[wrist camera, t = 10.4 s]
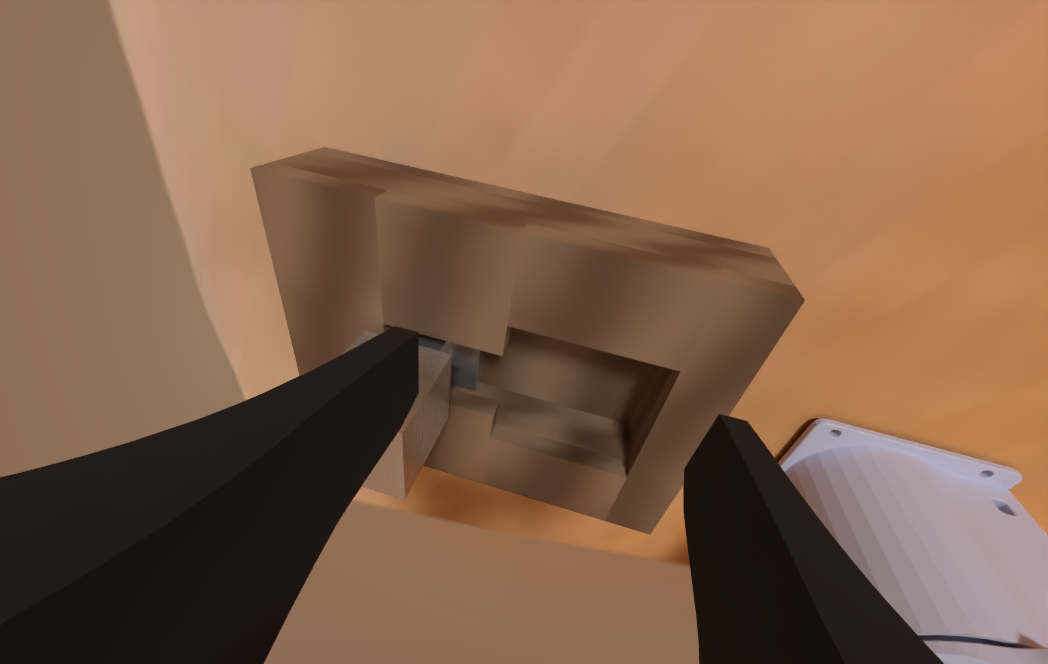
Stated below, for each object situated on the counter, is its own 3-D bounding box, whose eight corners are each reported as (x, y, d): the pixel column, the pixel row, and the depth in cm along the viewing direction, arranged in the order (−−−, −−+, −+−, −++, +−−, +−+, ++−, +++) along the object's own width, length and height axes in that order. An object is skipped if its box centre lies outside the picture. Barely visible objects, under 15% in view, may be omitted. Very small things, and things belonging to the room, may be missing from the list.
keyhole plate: (769, 248, 17) (804, 300, 13) (648, 467, 25) (650, 534, 22) (324, 147, 19) (250, 168, 15) (355, 383, 27) (312, 431, 24)
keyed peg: (491, 302, 20) (416, 428, 13) (482, 376, 23) (416, 510, 16) (397, 278, 20) (278, 387, 14) (400, 354, 23) (303, 474, 17)
